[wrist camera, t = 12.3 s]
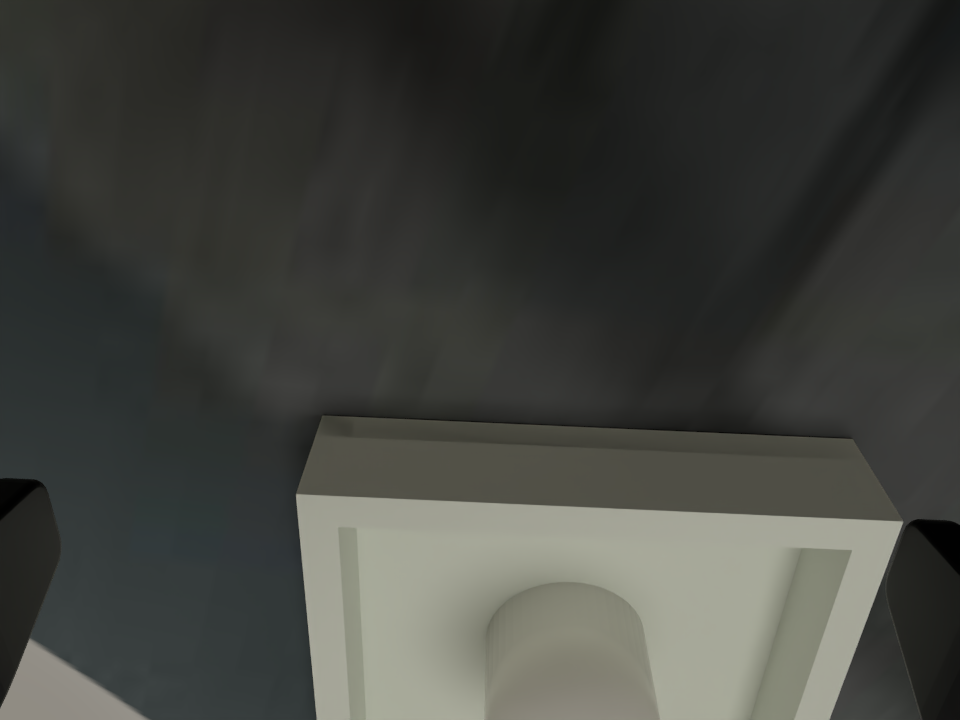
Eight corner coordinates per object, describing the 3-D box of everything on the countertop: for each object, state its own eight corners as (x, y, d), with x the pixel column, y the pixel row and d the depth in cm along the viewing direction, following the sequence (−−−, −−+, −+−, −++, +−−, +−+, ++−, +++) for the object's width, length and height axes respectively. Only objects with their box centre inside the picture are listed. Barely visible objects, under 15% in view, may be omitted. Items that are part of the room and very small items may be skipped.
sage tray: (852, 438, 24) (903, 521, 21) (748, 769, 31) (775, 865, 28) (322, 415, 24) (295, 494, 21) (345, 750, 31) (328, 844, 28)
